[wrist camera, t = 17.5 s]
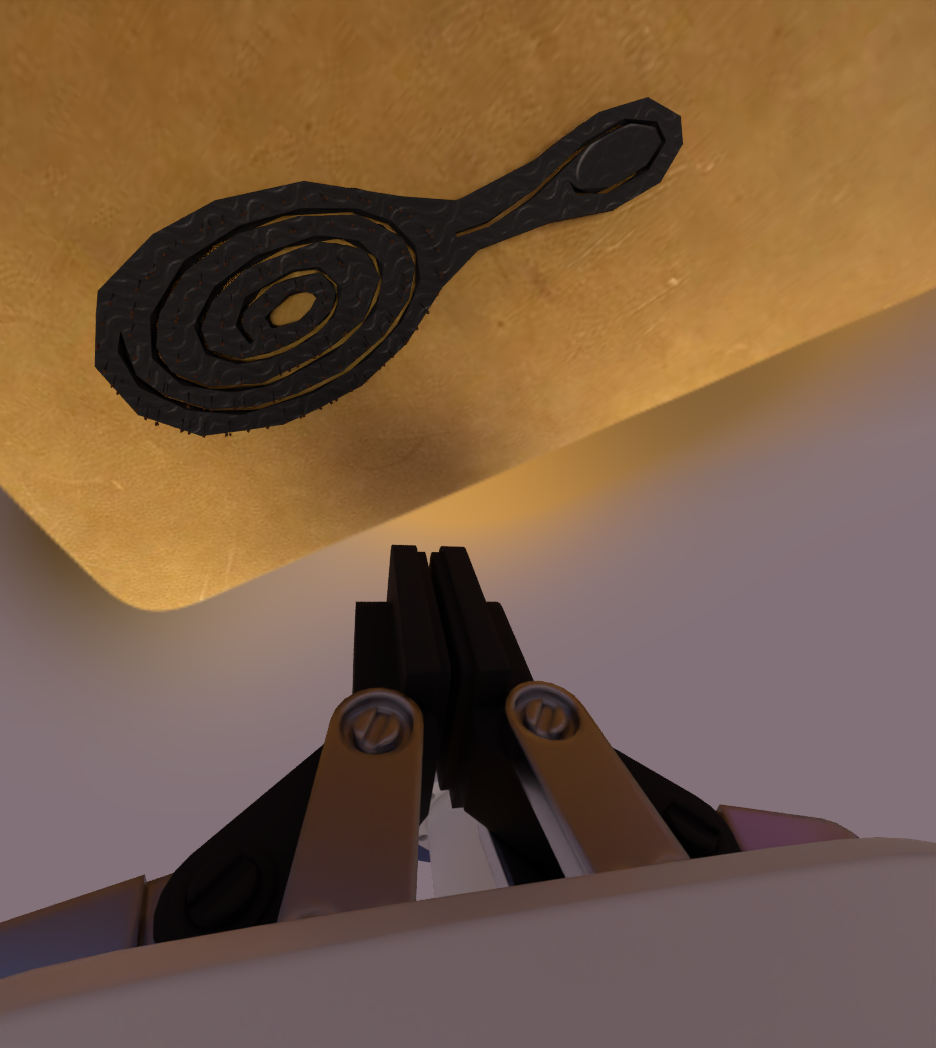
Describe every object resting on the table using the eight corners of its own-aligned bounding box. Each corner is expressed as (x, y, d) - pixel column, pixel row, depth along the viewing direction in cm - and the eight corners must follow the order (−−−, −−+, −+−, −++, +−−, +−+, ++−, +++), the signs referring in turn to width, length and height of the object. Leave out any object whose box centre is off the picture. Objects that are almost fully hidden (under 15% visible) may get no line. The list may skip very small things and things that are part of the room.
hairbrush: (726, 232, 20) (176, 489, 19) (672, 242, 23) (200, 461, 22) (702, -41, 16) (1, 269, 15) (640, 18, 19) (62, 275, 18)
